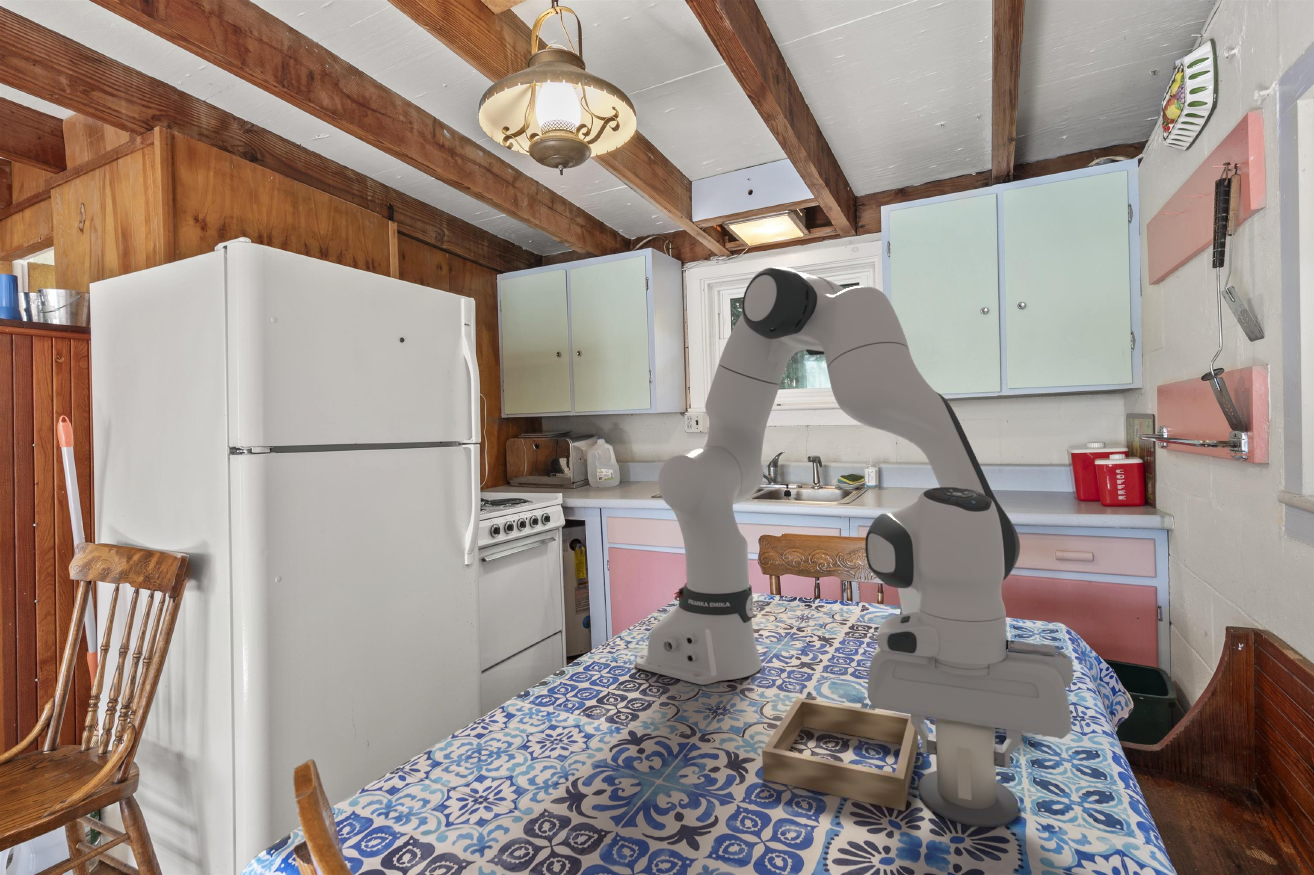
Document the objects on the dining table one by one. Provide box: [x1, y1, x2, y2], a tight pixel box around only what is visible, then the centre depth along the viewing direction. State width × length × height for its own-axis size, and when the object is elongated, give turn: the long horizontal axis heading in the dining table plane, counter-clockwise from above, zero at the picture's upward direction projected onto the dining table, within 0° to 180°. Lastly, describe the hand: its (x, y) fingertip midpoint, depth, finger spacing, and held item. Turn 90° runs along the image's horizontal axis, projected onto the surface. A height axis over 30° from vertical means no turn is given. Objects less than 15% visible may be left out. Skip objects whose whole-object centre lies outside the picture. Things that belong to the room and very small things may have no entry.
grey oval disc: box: [918, 770, 1019, 828], centre depth 71 cm, size 10×10×1 cm
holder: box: [761, 697, 919, 812], centre depth 80 cm, size 16×16×4 cm
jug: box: [934, 718, 997, 809], centre depth 70 cm, size 9×6×8 cm
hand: (965, 758), depth 71 cm, fingers closed on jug, 6 cm apart
